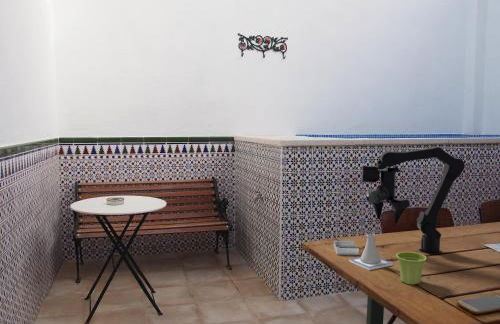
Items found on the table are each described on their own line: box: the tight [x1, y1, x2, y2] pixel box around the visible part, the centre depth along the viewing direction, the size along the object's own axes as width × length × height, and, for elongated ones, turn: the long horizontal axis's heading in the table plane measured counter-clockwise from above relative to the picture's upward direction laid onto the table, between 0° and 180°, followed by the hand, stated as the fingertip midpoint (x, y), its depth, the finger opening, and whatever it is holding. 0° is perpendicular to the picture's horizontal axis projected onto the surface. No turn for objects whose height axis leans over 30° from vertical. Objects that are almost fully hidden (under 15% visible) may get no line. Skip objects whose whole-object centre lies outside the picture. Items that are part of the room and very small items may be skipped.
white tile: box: [348, 256, 393, 271], centre depth 173 cm, size 11×11×1 cm
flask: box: [360, 233, 382, 264], centre depth 173 cm, size 7×7×10 cm
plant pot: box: [396, 251, 427, 285], centre depth 154 cm, size 9×9×9 cm
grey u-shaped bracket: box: [333, 240, 360, 256], centre depth 189 cm, size 8×11×3 cm
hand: (386, 221), depth 188 cm, fingers open, 9 cm apart
